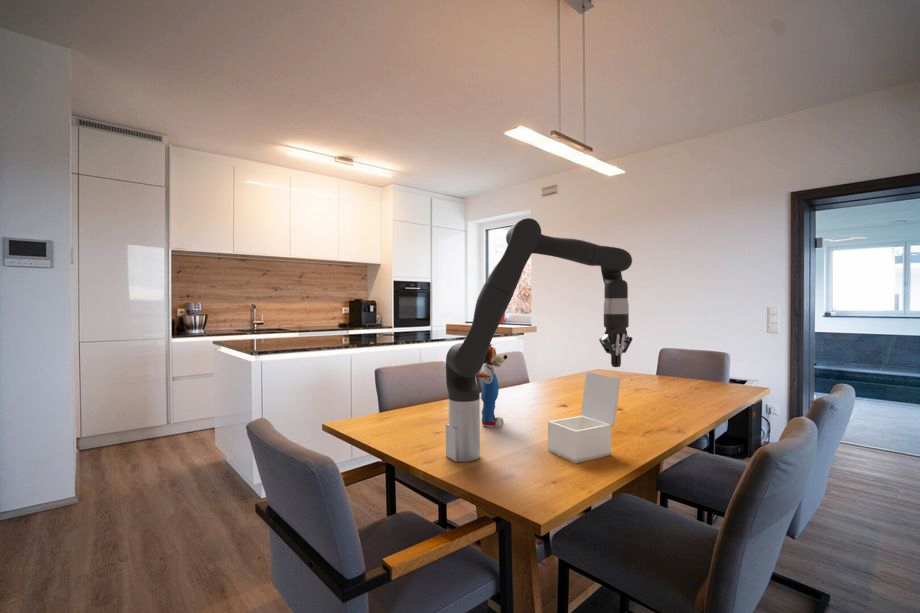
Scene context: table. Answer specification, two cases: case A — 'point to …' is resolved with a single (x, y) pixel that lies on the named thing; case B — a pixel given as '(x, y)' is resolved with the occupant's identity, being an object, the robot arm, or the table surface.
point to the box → (579, 438)
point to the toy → (490, 388)
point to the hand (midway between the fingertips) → (616, 366)
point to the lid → (600, 397)
